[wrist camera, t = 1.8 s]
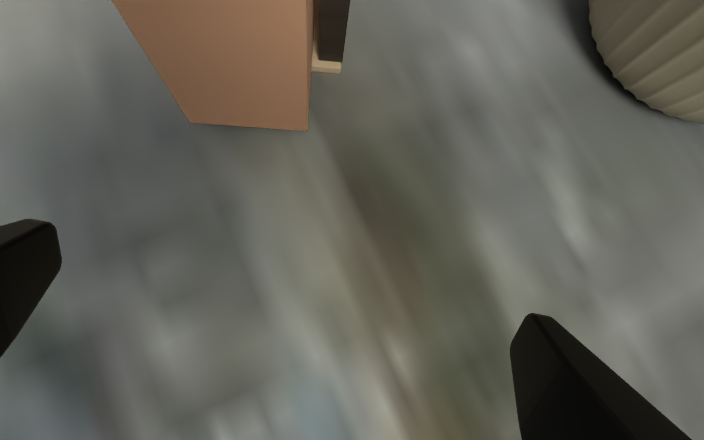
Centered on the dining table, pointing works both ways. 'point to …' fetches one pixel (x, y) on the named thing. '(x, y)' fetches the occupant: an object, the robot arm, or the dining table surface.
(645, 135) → the dining table surface
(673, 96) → the canister
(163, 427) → the dining table surface
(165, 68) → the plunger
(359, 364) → the dining table surface
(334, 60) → the sleeve
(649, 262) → the dining table surface
